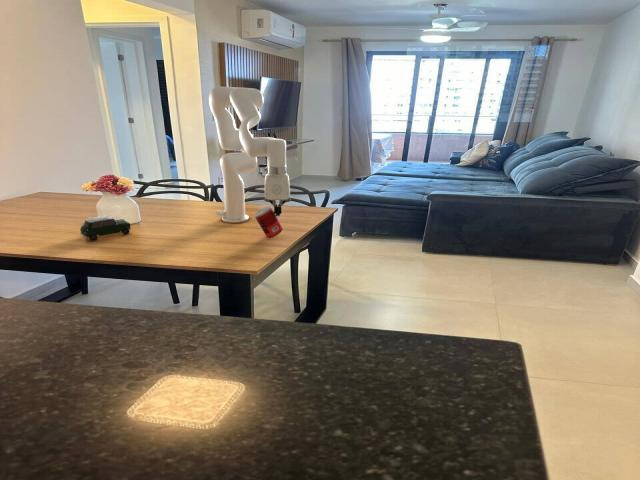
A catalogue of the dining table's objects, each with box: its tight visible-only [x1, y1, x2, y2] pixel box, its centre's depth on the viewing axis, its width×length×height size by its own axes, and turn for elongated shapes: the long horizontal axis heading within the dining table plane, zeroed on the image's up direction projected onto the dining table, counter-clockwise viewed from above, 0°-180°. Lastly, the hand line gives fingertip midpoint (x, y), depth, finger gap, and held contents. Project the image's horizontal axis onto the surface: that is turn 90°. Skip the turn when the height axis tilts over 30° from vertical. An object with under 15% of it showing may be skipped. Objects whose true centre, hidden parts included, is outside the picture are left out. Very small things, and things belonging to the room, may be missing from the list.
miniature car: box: [79, 214, 132, 242], centre depth 156 cm, size 9×18×8 cm, turn 134°
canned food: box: [253, 205, 284, 239], centre depth 158 cm, size 8×8×11 cm
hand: (278, 215), depth 157 cm, fingers closed
